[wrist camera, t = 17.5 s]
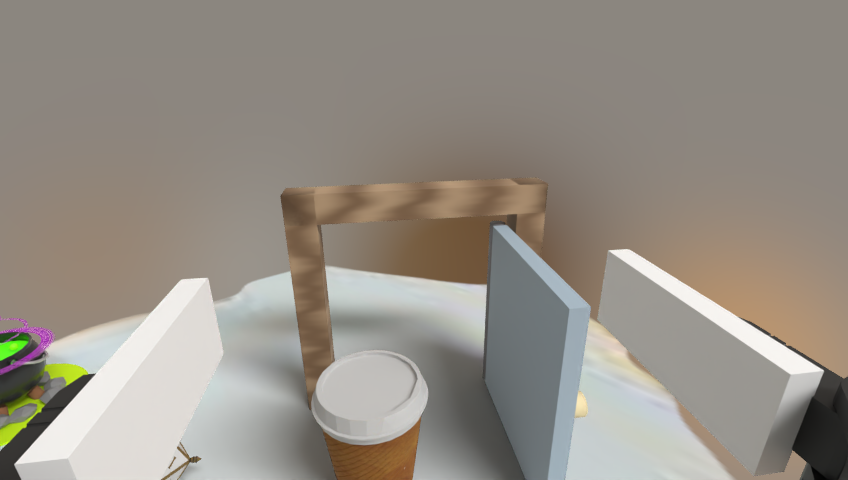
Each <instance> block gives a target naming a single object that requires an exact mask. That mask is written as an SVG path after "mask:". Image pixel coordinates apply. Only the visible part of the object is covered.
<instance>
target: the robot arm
mask: <svg viewBox="0 0 848 480" xmlns="http://www.w3.org/2000/svg"><path fill="white" fill-rule="evenodd" d="M597 320H598V321H599V322H600V323H601V324H602V325H603V326H604V327H605V328H606V329H607V330H608V331H609V332H610V333H611V334H612V335H613V336H614V337H615V338H616V339H617V340H618V341H619V342H620V343H621V344H622V345H623V346H624V347H625V348H626V349H627V350H628V351H629V352H630V353H631V354H632V355H633V356H634V357H635V358H636V359H637V360H639V362H640V363H641V364H642V365H643V366H644V367H645V368H646V369H647V370H648V371H649V372H650V373H651V374H652V375H653V376H654V377H655V378H656V379H657V380H658V381H659V382H660V383H661V384H662V385H663V386H664V387H665V388H666V389H667V390H668V391H669V392H670V393H671V394H672V395H673V396H674V397H675V398H676V399H677V400H678V401H679V402H680V403H681V404H682V405H683V406H684V407H685V408H686V409H687V410H688V411H689V412H690V413H691V414H693V416H694V417H695V418H696V419H697V420H698V421H699V422H700V423H701V424H702V425H703V426H704V427H705V428H706V429H707V430H708V431H709V432H710V433H711V434H712V435H713V436H714V437H715V438H716V439H717V440H718V441H719V442H720V443H721V444H722V445H723V446H724V447H725V448H726V449H727V450H728V451H729V452H730V453H731V454H732V455H733V456H734V457H735V458H736V459H737V460H738V461H739V462H740V463H741V464H742V465H743V466H744V467H745V468H746V469H747V470H748V471H749V472H750V473H751V474H752V475H753V476H758V475H765V474H772V473H778V472H784V470H785V468H786V465H787V463H788V460H789V458H790V455H791V453H792V450H793V451H795V452H796V453H797V454H798V455H799V456H801V457H802V458H803V459H804V460H805V461H806V462H807V464H806V466H805V468H804V471H803V473H802V476H801V478H800V480H848V377H846V378H845V379H843V378H842V377H840V376H838V375H837V374H835V373H834V372H832V371H830V370H828V369H827V368H825V367H824V366H822V365H821V364H819V363H817V362H816V361H814V360H812V359H811V358H809V357H807V356H806V355H804V354H803V353H801V352H799V351H798V350H796V349H794V348H792V347H791V346H786V343H785V342H783V341H781V340H780V339H778V338H777V337H775V336H771V334H770V333H768V332H767V331H765V330H763V329H762V328H760V327H759V326H757V325H755V324H753V323H752V322H750V321H747V320H745V319H742V318H740V317H737V316H735V315H734V314H732V313H730V312H729V311H727V310H726V309H724V308H722V307H721V306H719V305H718V304H716V303H714V302H713V301H711V300H710V299H708V298H706V297H705V296H703V295H701V294H700V293H698V292H697V291H695V290H694V289H692V288H690V287H689V286H687V285H685V284H684V283H682V282H680V281H679V280H677V279H676V278H674V277H673V276H671V275H669V274H668V273H666V272H665V271H663V270H661V269H660V268H658V267H657V266H655V265H653V264H652V263H650V262H648V261H647V260H645V259H644V258H642V257H640V256H639V255H637V254H636V253H634V252H632V251H631V250H629V249H624V250H611V251H610V250H609V251H608V255H607V262H606V268H605V275H604V282H603V287H602V294H601V301H600V306H599V313H598V319H597ZM223 354H224V351H223V346H222V341H221V337H220V332H219V327H218V323H217V318H216V313H215V309H214V304H213V299H212V295H211V290H210V285H209V281H208V278H197V279H183V280H180V281H179V283H178V284H177V285H176V286H175V287H174V288H173V289H172V290H171V291H170V293H169V294H168V295H167V296H166V297H165V298H164V299H163V300H162V301H161V303H160V304H159V305H158V306H157V307H156V308H155V309H154V310H153V311H152V312H151V314H150V315H149V316H148V317H147V318H146V319H145V320H144V321H143V322H142V324H141V325H140V326H139V327H138V328H137V329H136V330H135V331H134V332H133V333H132V335H131V336H130V337H129V338H128V339H127V340H126V341H125V342H124V343H123V345H122V346H121V347H120V348H119V349H118V350H117V351H116V352H115V353H114V355H113V356H112V357H111V358H110V359H109V360H108V361H107V362H106V363H105V364H104V366H103V367H102V368H101V369H100V370H99V371H98V372H97V373H96V374H87V375H82V376H81V377H79V378H78V379H76V380H75V381H73V382H72V383H70V384H69V385H67V386H66V387H64V388H63V389H61V390H59V391H58V392H57V393H56V394H55V395H54V396H53V397H52V398H51V399H50V400H49V402H48V403H47V404H46V405H45V406H44V407H43V408H42V409H41V412H38V413H37V414H36V415H35V416H34V417H33V418H32V419H31V420H30V421H29V422H28V423H27V426H26V428H22V429H21V430H20V431H19V432H18V433H17V434H16V435H15V436H14V437H13V438H12V440H11V441H10V442H9V443H8V444H7V445H6V446H5V447H4V448H3V449H2V450H1V451H0V480H161V479H162V477H163V475H164V473H165V471H166V469H167V467H168V465H169V463H170V461H171V459H172V457H173V455H174V453H175V451H176V449H177V447H178V445H179V443H180V441H181V439H182V437H183V435H184V433H185V431H186V429H187V427H188V425H189V423H190V421H191V419H192V417H193V415H194V413H195V411H196V409H197V407H198V405H199V403H200V400H201V398H202V396H203V394H204V392H205V390H206V388H207V386H208V384H209V382H210V380H211V378H212V376H213V374H214V372H215V370H216V368H217V366H218V364H219V362H220V360H221V358H222V356H223Z"/></svg>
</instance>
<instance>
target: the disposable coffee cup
mask: <svg viewBox="0 0 848 480" xmlns="http://www.w3.org/2000/svg"><path fill="white" fill-rule="evenodd" d="M427 400H428V387H427V384H426V382H425V380H424V378H423V376H422V375H421V372H420V370H419V369H418V367H417V365H416V364H415V363H414V362H412V361H411V360H410V359H409V358H407V357H405V356H403V355H401V354H398V353H395V352H391V351H386V350H367V351H360V352H356V353H352V354H349V355H347V356H344V357H342V358H340V359H338V360H337V361H335V362H333V363H332V364H331V365H330V366H329V367H328V368H327V369H325V370H324V371H323V373H322V374H321V376H320V377H319V379H318V382H317V384H316V388H315V391H314V393H313V396H312V401H311V408H312V413H313V416H314V418H315V420H316V421H317V423H318V424H319V425H320V426H321V428H322V430H323V434H324V436H325V440H326V443H327V447H328V451H329V453H330V457H331V461H332V464H333V467H334V471H335V474H336V478H337V480H412V478H413V472H414V464H415V458H416V450H417V443H418V435H419V428H420V421H421V415H422V413H423V411H424V409H425V407H426V404H427Z"/></svg>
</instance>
